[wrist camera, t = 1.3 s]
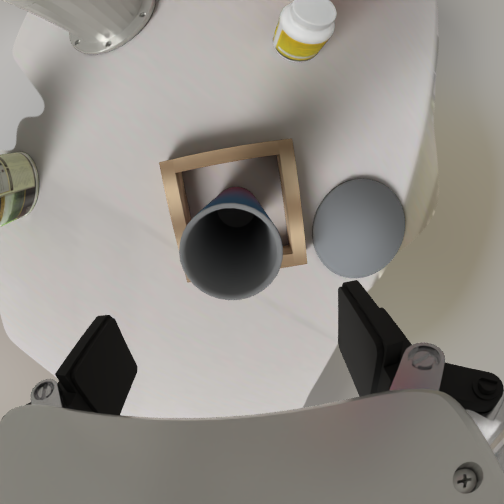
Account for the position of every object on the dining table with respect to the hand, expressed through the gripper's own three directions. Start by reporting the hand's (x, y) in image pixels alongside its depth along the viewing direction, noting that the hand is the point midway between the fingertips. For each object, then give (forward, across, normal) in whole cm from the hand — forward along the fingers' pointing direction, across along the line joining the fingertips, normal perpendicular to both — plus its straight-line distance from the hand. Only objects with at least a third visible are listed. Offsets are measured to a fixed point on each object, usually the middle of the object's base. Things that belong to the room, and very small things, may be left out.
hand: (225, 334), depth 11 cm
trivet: (+23, -15, +4) cm, 28 cm away
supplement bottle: (+23, -10, -20) cm, 32 cm away
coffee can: (+23, +32, -12) cm, 41 cm away
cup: (+23, 0, 0) cm, 23 cm away
